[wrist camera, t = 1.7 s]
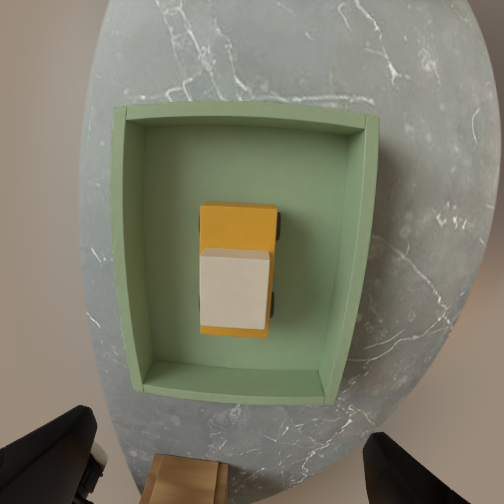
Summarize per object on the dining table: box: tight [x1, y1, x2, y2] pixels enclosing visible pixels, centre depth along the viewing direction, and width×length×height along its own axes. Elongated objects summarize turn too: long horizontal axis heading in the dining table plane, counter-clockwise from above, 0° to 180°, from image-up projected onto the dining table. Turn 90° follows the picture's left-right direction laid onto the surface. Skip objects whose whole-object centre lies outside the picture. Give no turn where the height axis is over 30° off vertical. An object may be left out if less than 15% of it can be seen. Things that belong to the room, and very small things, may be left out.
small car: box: [199, 201, 281, 338], centre depth 16 cm, size 7×4×4 cm, turn 177°
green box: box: [110, 101, 380, 405], centre depth 17 cm, size 14×18×4 cm
